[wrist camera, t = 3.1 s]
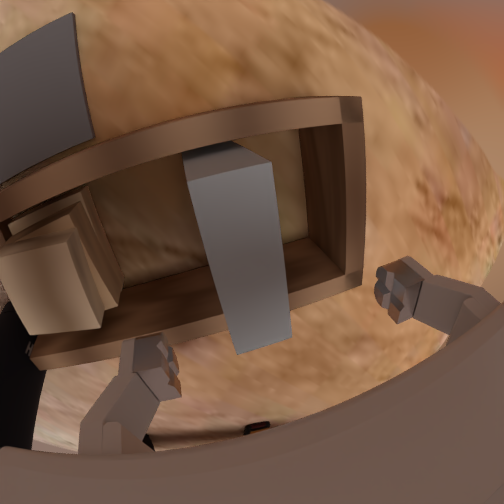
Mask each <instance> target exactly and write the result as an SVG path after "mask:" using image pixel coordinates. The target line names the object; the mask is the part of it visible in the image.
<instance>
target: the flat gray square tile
mask: <svg viewBox="0 0 504 504" xmlns="http://www.w3.org/2000/svg"><path fill="white" fill-rule="evenodd" d="M92 138H95V134H94V130H93V126H92V121H91V117H90V113H89V108H88V103H87V99H86V94H85V88H84V83H83V77H82V71H81V65H80V58H79V51H78V43H77V35H76V24H75V14H74V13H73V12H71V13H69V14H67V15H65V16H63V17H61V18H59V19H57V20H55V21H53V22H51V23H49V24H47V25H45V26H43V27H41V28H39V29H38V30H36V31H34V32H32V33H31V34H29V35H27V36H26V37H24V38H22V39H21V40H19V41H17V42H16V43H14V44H13V45H11V46H10V47H8V48H7V49H5V50H4V51H2V52H1V53H0V184H1V183H3V182H4V181H6V180H8V179H9V178H11V177H13V176H15V175H16V174H18V173H20V172H22V171H24V170H25V169H27V168H29V167H31V166H33V165H35V164H37V163H39V162H41V161H43V160H45V159H47V158H49V157H51V156H53V155H55V154H57V153H60V152H62V151H64V150H66V149H68V148H71V147H73V146H75V145H78V144H80V143H82V142H85V141H87V140H90V139H92Z"/></svg>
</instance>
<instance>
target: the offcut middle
mask: <svg viewBox="0 0 504 504" xmlns="http://www.w3.org/2000/svg"><path fill="white" fill-rule="evenodd" d="M75 227H77V230H78V234H79V237H80V240H81V244H82V247H83V250H84V253H85V256H86V259H87V262H88V265H89V268H90V271H91V273H92V276H93V279H94V282H95V284H96V287H97V289H98V292H99V295H100V297H101V300H102V302H103V304H104V307H105V310H107V309H110V308H113V307H117V306H118V303H119V298H120V293H121V288H122V284H121V282H120V280H119V279H118V277H117V275H116V273H115V271H114V269H113V268H112V266H111V264H110V262H109V260H108V258H107V256H106V254H105V252H104V250H103V248H102V246H101V244H100V242H99V240H98V238H97V236H96V234H95V232H94V229H93V227H92V225H91V223H90V221H89V218H88V216H87V214H86V212H85V209H84V207H83V205H82V202H81V200H80V201H78V202H76V203H74V204H72V205H70V206H68V207H66V208H64V209H62V210H60V211H57V212H55V213H54V214H52V215H50V216H48V217H46V218H44V219H42V220H40V221H38V222H36V223H34V224H32V225H31V226H29V227H27V228H25V229H23V230H22V231H20V232H18V233H16V234H15V235H13V236H11V237H10V238H9V239H8V240H7V241H6V243H5V244H4V245H6V244H10V243H13V242H17V241H21V240H25V239H29V238H32V237H36V236H40V235H45V234H49V233H53V232H57V231H61V230H66V229H70V228H75ZM4 245H3V246H4ZM3 246H2V247H1V248H0V250H1V249H2V248H3Z"/></svg>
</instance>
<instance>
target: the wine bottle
mask: <svg viewBox="0 0 504 504" xmlns="http://www.w3.org/2000/svg"><path fill="white" fill-rule="evenodd" d="M37 336H38V335H30V334H29V333H28V331H27V329H26V328H25V326H24V324H23V323H22V321H21V319H20V317H19V316H18V314H17V312H16V310H15V308H14V306H13V305H12V303H11V301H9V302H8V303H7V304H6V305H5V307H4V309H3V310H2V312H1V314H0V449H1V448H2V447H5V446H10V447H16V448H22V449H28V450H31V448H32V440H33V433H34V427H35V421H36V415H37V410H38V405H39V400H40V395H41V391H42V387H43V382H44V378H45V374H46V371H47V370H41V371H40V370H39V369H38V368H37V366H36V365H35V364H34V363H33V362H32V361H31V359H30V355H31V352H32V350H33V347H34V344H35V341H36V339H37Z"/></svg>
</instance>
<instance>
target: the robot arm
mask: <svg viewBox="0 0 504 504" xmlns="http://www.w3.org/2000/svg"><path fill="white" fill-rule="evenodd" d="M376 277H377V278H378V281H377V282H376V284H375V287H374V294H375V298H376V300H377V302H378V304H379V305H380V306H381V307H383V308H386V309H388V315H389V316H390V317H391V318H392V319H393V320H394V322H395V323H396V324H399V323H401V322H403V321H406V320H408V319H410V318H412V317H413V318H414V319H416V320H418V321H421V322H423V323H425V324H427V325H429V326H431V327H433V328H435V329H437V330H440V331H442V332H444V333H446V334H448V335H450V336H449V338H448V340H447V342H446V346H445V347H444V348H442V349H441V350H439V351H438V352H436V353H435V354H433V355H431V356H430V357H428V358H427V359H425V360H423V361H422V362H420V363H418V364H417V365H415V366H413V367H412V368H410V369H408V370H406V371H405V372H403V373H401V374H399V375H397V376H396V377H394V378H392V379H390V380H388V381H386V382H384V383H382V384H380V385H378V386H376V387H374V388H372V389H370V390H368V391H366V392H364V393H362V394H360V395H358V396H355V397H353V398H351V399H349V400H347V401H344V402H342V403H340V404H337V405H335V406H332V407H330V408H327V409H325V410H322V411H320V412H317V413H315V414H312V415H309V416H307V417H304V418H301V419H298V420H295V421H292V422H289V423H286V424H283V425H280V426H277V427H274V428H270V429H267V430H264V431H260V432H256V433H253V434H249V435H245V436H241V437H237V438H233V439H229V440H224V441H219V442H215V443H210V444H204V445H199V446H193V447H187V448H180V449H173V450H165V451H156V452H155V451H153V450H152V449H151V448H150V447H148V446H147V445H146V444H144V443H143V442H142V440H143V438H144V436H145V434H146V432H147V430H148V427H149V425H150V423H151V421H152V419H153V417H154V415H155V413H156V410H157V408H158V406H159V404H160V402H161V401H166V400H171V399H175V398H180V397H182V394H181V384H180V381H179V379H178V377H177V375H178V373H179V365H178V361H177V357H176V355H175V352H174V350H173V348H172V347H170V346H168V339H167V337H166V336H165V334H164V333H163V332H160V333H155V334H150V335H145V336H140V337H136V338H131V339H126V340H124V341H123V342H122V346H121V354H120V363H119V373H118V376H115V377H114V378H113V379H112V381H111V382H110V383H109V385H108V386H107V387H106V389H105V390H104V391H103V393H102V394H101V395H100V397H99V398H98V399H97V401H96V402H95V404H94V405H93V406H92V408H91V409H90V410H89V412H88V413H87V415H86V416H85V417H84V419H83V420H82V422H81V424H80V434H79V447H78V454H65V453H53V452H43V451H35V450H28V449H22V448H16V447H10V446H5V447H2V448H1V449H0V504H504V302H503V303H500V302H498V301H497V300H496V299H495V298H494V297H493V296H492V295H491V294H489V293H488V292H487V291H486V290H485V289H484V288H482V287H479V286H475V285H472V284H468V283H465V282H461V281H458V280H454V279H451V278H447V277H443V276H440V275H433V274H431V273H430V272H429V271H428V270H427V269H425V268H424V267H423V266H422V265H420V264H419V263H418V262H417V261H415V260H414V259H413V258H412V257H409V256H406V257H403V258H401V259H398V260H396V261H394V262H391V263H388V264H386V265H383V266H381V267H378V269H377V271H376Z"/></svg>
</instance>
